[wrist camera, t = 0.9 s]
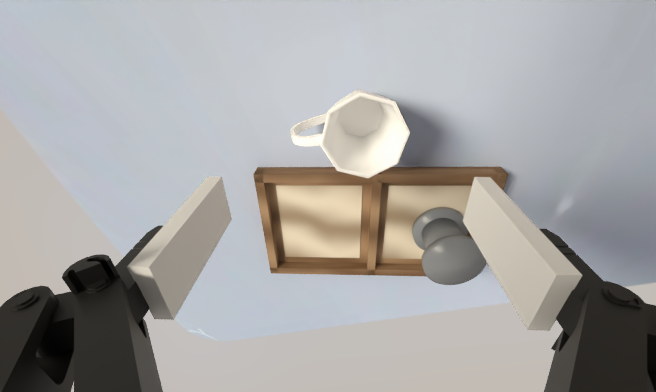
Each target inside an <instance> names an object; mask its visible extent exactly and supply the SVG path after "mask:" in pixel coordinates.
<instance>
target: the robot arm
mask: <svg viewBox="0 0 656 392" xmlns="http://www.w3.org/2000/svg"><path fill="white" fill-rule="evenodd" d="M231 219H232V218H231V214H230V210H229V206H228V202H227V198H226V193H225V189H224V185H223V181H222V177H207V178H206V179H205V180H204V181H203V182H202V184H201V185H200V186H199V187H198V188H197V189H196V190H195V191H194V192H193V194H192V195H191V196H190V197H189V198H188V199H187V200H186V201H185V203H184V204H183V205H182V206H181V207H180V208H179V209H178V210H177V211H176V213H175V214H174V215H173V216H172V217H171V218H170V219H169V220H168V222H167V223H166V224H165V225H164V226H157V227H156V228H154V229H152V230H151V231H149V232H148V233H147V234H146V235H145V236H144V237H143V238H142V239H141V240H140V242H139V243H137V244H136V245H135V246H134V247H133V249H131V250H130V252H129V253H128V254H127V255H126V256H125V257H124V258H123V259H122V260H121V261H120V262H119V263H118V264H117V265H116V266H114V265H113V263H112V261H111V259H110V258H109V256H107V255H94V256H90V257H86V258H84V259H82V260H80V261H78V262H76V263H74V264H73V265H71V266H70V267H69V268H68V269H67V270H66V271H65V272H64V274H63V276H62V278H63V280H64V281H65V283H66V284H67V286H68V287H69V288H70V290H71V291H72V292H67V293H63V294H58V295H54V294H53V292H52V291H51V290H50V289H49V288H48V287H46V286H38V287H33V288H30V289H27V290H24V291H22V292H20V293H18V294H16V295H14V296H13V297H11V298H10V299H9V300H7V301H6V302H5V303H4V304H3V305H2V306H1V307H0V392H71V388H72V385H73V382H74V392H163V391H162V387H161V382H160V378H159V375H158V370H157V366H156V362H155V358H154V354H153V350H152V346H151V341H150V337H149V333H148V329H147V325H146V322H145V320H144V319H143V317H144V316H145V314H146V313H147V311H148V310H150V312H151V313H152V315H153V317H154V319H174V318H175V316H176V314H177V313H178V311H179V309H180V308H181V306H182V304H183V302H184V301H185V299H186V297H187V295H188V294H189V292H190V290H191V289H192V287H193V285H194V283H195V282H196V280H197V278H198V276H199V275H200V273H201V271H202V270H203V268H204V266H205V264H206V263H207V261H208V259H209V257H210V256H211V254H212V252H213V251H214V249H215V247H216V245H217V244H218V242H219V240H220V238H221V237H222V235H223V233H224V231H225V230H226V228H227V226H228V225H229V223H230V221H231ZM463 222H464V224H465V226H466V227H467V229H468V231H469V233H470V234H471V236H472V238H473V239H474V241H475V243H476V244H477V246H478V248H479V249H480V251H481V253H482V254H483V256H484V258H485V259H486V261H487V263H488V265H489V266H490V268H491V270H492V271H493V273H494V275H495V276H496V278H497V280H498V281H499V283H500V285H501V286H502V288H503V290H504V291H505V293H506V295H507V296H508V298H509V300H510V302H511V303H512V305H513V307H514V308H515V310H516V311H517V313H518V315H519V317H520V318H521V320H522V322H523V323H524V325H525V327H526V328H527V330H547V331H549V330H550V329H551V327H552V326H553V324H554V322H555V321H556V320H557V321H558V322H559V324H560V325H561V326H562V328H563V331H562V332H561V334H560V336H559V337H558V339H557V340H556V342H555V344H554V345H553V347H552V349H553V350H555V354H554V357H553V361H552V365H551V369H550V372H549V376H548V380H547V383H546V387H545V390H544V392H656V306H654V305H650V304H646V303H644V302H643V301H642V299H641V298H640V297H639V296H637V295H636V294H635V293H633V292H632V291H630V290H629V289H626V288H624V287H622V286H620V285H618V284H614V283H611V282H605V281H603V280H602V279H601V278H600V277H599V276H598V275H597V274H596V273H595V272H594V271H593V270H592V269H591V268H590V267H589V266H588V265H587V264H586V263H585V262H584V261H583V260H582V259H581V258H580V257H579V256H578V255H576V253H575V252H574V251H573V250H572V249H571V248H568V245H567V244H566V243H565V242H564V241H563V240H562V239H561V238H560V237H558V236H557V235H555V234H554V233H552V232H550V231H549V230H547V229H538V227H537V226H536V225H535V224H534V223H533V222H532V221H531V220H530V219H529V218H528V217H527V216H526V215H525V214H524V213H523V212H522V210H521V209H520V208H519V207H518V206H517V205H516V204H515V203H514V202H513V201H512V200H511V199H510V198H509V197H508V196H507V195H506V193H505V192H504V191H503V190H502V189H501V188H500V187H499V186H498V185H497V184H496V183H495V182H494V181H493V180H492V179H491V178H490V177H474V180H473V184H472V188H471V192H470V196H469V199H468V203H467V207H466V211H465V214H464V218H463Z"/></svg>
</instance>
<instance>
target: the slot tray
mask: <svg viewBox="0 0 656 392" xmlns="http://www.w3.org/2000/svg"><path fill="white" fill-rule="evenodd" d="M474 177H490V178H491V179H492V180H493V181H494V182H495V183H496V184H497V185H498V186H499V187H500V188H501V189H502V190H503V189H504V186H505V183H506V180H507V177H508V174H507V173H506V172H505V171H504V170H503V169H502V168H501V167H390V168H388V169H386V170H384V171H382V172H380V173H378V174H376V175H374V176H372V177H370V178H364V177H360V176H356V175H352V174H348V173H344V172H339V171H337V170H336V168H335V167H258V168H257V170H256V171H255V173H254V180H255V185H256V191H257V197H258V202H259V208H260V214H261V219H262V225H263V231H264V236H265V242H266V248H267V253H268V259H269V265H270V270H271V273H287V274H339V275H392V276H426V274H425V273H424V270H423V267H422V263H421V259H422V255H423V252H424V250H422V249H421V248H419V247H418V246H417V245H416V243H415V241H414V238H413V235H412V227H413V224H414V222H415V220H416V219H417V218H418V217H419V216H420V215H421V214H422V213H424V212H425V211H427V210H430V209H432V208H437V207H449V208H453V209H455V210H457V211H459V212H460V213H461V214H462V215H463V217H464V214H465V211H466V207H467V203H468V199H469V196H470V192H471V188H472V184H473V180H474ZM467 236H469V237H471V238H472V236H471V234H470V233H469V231H468V233H467Z"/></svg>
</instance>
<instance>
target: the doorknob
mask: <svg viewBox="0 0 656 392" xmlns="http://www.w3.org/2000/svg"><path fill="white" fill-rule="evenodd" d="M463 218H464V217H463V215H462V214H461V213H460V212H459V211H457V210H455V209H453V208H449V207H437V208H432V209H430V210H427V211H425V212H424V213H422V214H421V215H420V216H419V217H418V218H417V219H416V220H415V222H414V224H413V227H412V235H413V238H414V241H415V243H416V245H417V246H418V247H419V248H421V249H422V250H424V252H423V255H422V259H421V263H422V267H423V270H424V273H425V274H426V276H427V277H428V278H429V279H430V280H432V281H434V282H436V283H439V284H444V285H455V284H461V283H464V282H467V281H469V280H471V279H473V278H474V277H476V276H477V275H478V274H479V273H480V272H481V271H482V270H483V268H484V267H485V265H486V259H485V258H484V256H483V254H482V253H481V251H480V249H479V248H478V246H477V244H476V243H475V241H474V239H473V238H471V237H469V236H467V233H468V229H467V227H466V226H465V224H464V222H463Z"/></svg>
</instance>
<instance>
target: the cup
mask: <svg viewBox="0 0 656 392" xmlns="http://www.w3.org/2000/svg"><path fill="white" fill-rule="evenodd" d="M322 123H325V125H324V130H323V133H321V134H317V135H311V136H299V135H297V134H298V133H299V132H301V131H303V130H305V129H308V128H310V127H313V126H316V125H319V124H322ZM290 132H291V137H292V140H293V143H294V144H296V145H299V146H317V145H321V147H322V148H323V150H324V152H325V153H326V155H327V156H328V158H329V159H330V161H331V162H332V164H333V165H334V167H335V168H336V170H337V171H339V172H344V173H348V174H352V175H356V176H360V177H364V178H370V177H372V176H374V175H376V174H378V173H380V172H382V171H384V170H386V169H388V168H390V167H392V166H394V165H396V164H398V162H399V159H400V157H401V154H402V152H403V149H404V147H405V144H406V142H407V139H408V137H409V134H410V131H409V129H408V127H407V125H406V123H405V121H404V119H403V117H402V115H401V113H400V110H399V108H398V106H397V104H396V102H395V101H393V100H390V99H388V98H386V97H384V96H381V95H378V94H374V93H370V92H366V91H363V90H359V89H357V90H356V91H354V92H352V93H351V94H349V95H347V96H346V97H344V98H343V99H341V100H340V101H338V102H337V103H336V104H335V105H334V106H333V107H332V108H331V109H330V110H329V111H328V113H327V114H323V115H320V116H317V117H314V118H311V119H308V120H305V121H302V122H300V123H298V124H296V125H294V126H293V127H292V128H291V131H290Z"/></svg>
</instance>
